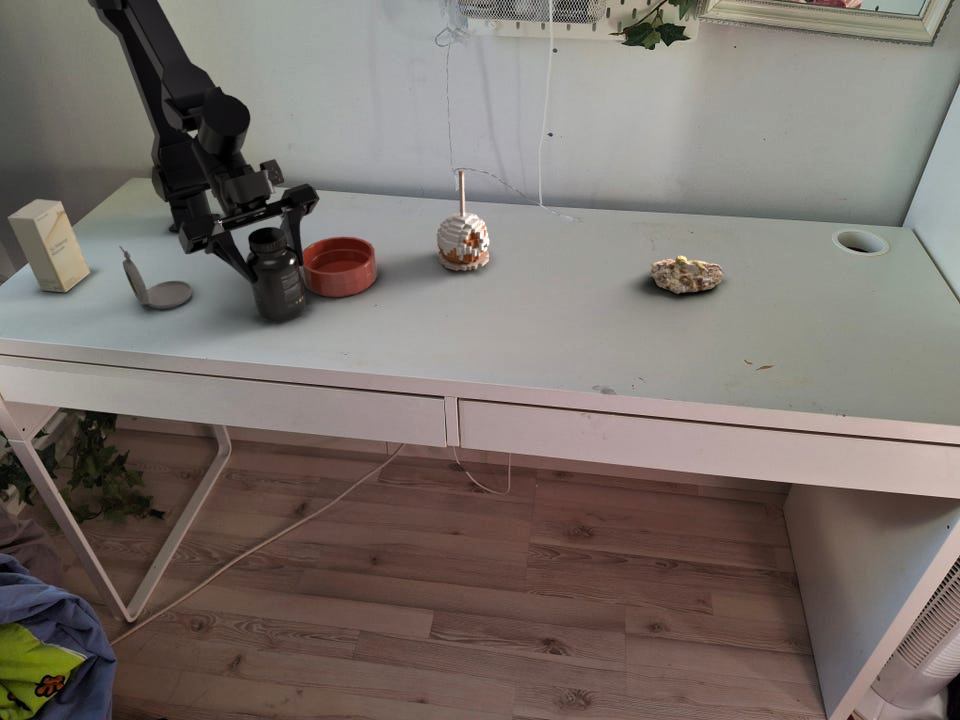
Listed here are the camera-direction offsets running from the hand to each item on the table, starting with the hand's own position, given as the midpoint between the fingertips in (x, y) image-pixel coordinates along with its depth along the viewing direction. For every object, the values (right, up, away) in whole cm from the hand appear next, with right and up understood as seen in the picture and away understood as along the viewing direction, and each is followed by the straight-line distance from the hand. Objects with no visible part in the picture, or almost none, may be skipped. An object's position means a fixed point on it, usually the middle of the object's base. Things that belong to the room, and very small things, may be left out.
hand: (278, 274), depth 97 cm
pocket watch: (-19, -3, +8) cm, 21 cm away
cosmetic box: (-36, 0, +12) cm, 38 cm away
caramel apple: (+25, +4, +15) cm, 30 cm away
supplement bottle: (-1, -5, +5) cm, 7 cm away
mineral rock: (+58, 0, +10) cm, 59 cm away
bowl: (+6, +1, +11) cm, 13 cm away
